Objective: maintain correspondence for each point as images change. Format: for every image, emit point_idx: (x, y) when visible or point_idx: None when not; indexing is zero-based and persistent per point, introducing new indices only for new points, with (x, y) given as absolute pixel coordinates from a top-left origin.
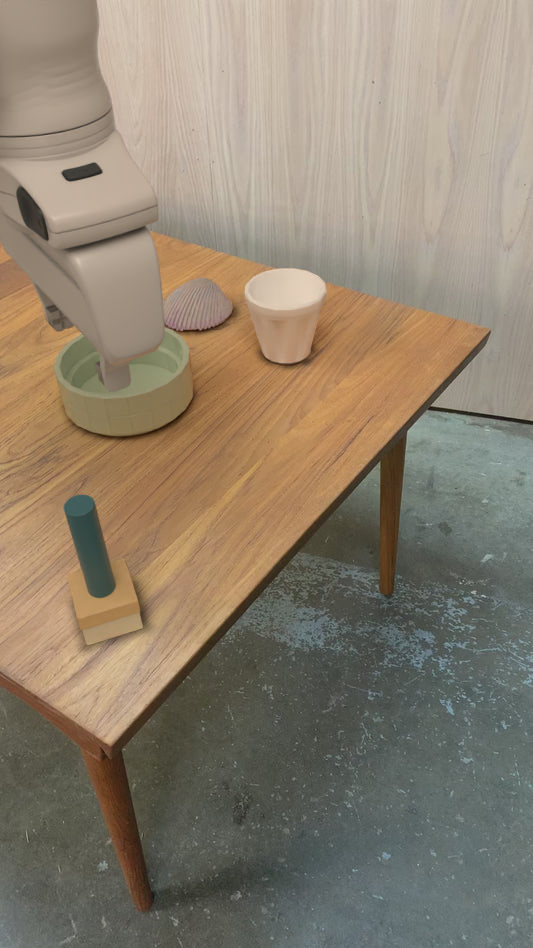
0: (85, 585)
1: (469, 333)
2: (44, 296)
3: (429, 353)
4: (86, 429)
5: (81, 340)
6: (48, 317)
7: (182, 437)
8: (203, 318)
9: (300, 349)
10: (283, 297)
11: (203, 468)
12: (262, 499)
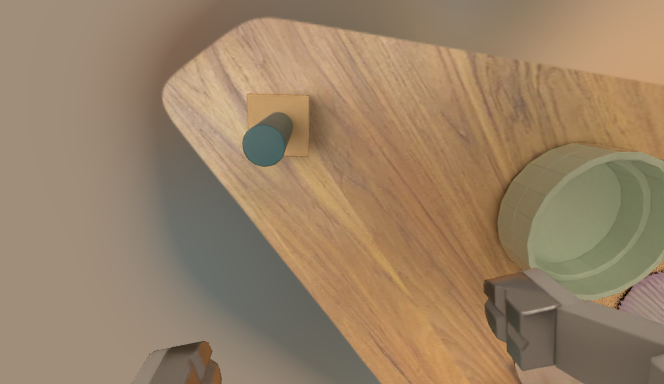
0: (287, 111)
1: None
2: (597, 334)
3: None
4: (536, 158)
5: None
6: (529, 289)
7: (474, 241)
8: (633, 312)
9: (522, 376)
10: None
11: (423, 246)
12: (361, 280)
